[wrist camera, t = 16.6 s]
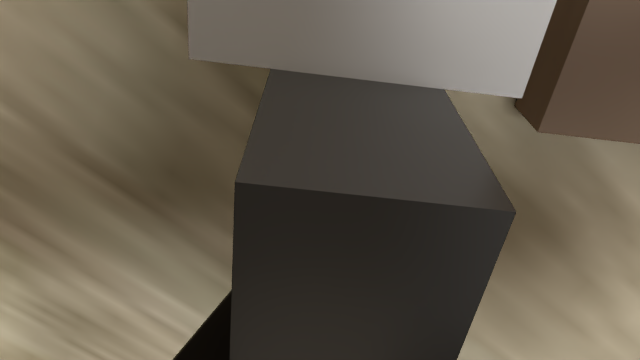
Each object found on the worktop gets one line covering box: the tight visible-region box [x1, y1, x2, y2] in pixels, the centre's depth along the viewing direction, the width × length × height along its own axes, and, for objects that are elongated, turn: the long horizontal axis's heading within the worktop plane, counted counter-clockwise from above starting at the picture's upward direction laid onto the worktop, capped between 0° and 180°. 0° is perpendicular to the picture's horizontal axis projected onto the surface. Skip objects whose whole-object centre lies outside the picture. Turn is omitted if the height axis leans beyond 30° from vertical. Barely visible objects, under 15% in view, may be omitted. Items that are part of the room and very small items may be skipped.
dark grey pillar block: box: [187, 0, 557, 360], centre depth 7 cm, size 16×5×4 cm, turn 173°
